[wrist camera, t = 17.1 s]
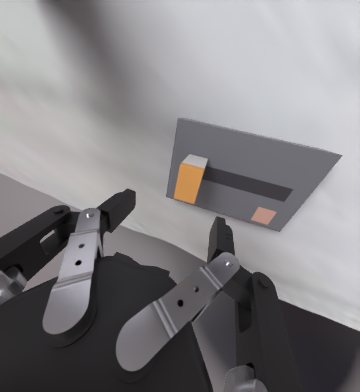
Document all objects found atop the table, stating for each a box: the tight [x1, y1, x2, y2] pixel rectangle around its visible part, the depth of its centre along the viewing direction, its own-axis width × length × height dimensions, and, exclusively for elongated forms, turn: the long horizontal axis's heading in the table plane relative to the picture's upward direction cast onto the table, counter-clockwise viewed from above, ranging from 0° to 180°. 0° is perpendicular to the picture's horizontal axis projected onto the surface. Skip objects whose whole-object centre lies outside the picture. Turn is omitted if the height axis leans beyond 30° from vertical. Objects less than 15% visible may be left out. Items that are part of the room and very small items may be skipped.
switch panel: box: [166, 118, 343, 232], centre depth 24 cm, size 22×14×4 cm, turn 80°
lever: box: [174, 154, 208, 204], centre depth 20 cm, size 3×5×6 cm, turn 170°
